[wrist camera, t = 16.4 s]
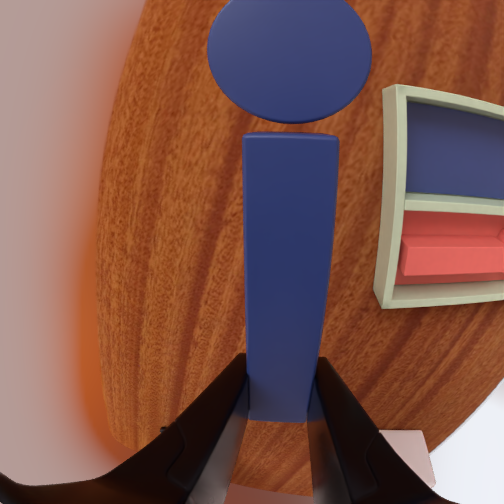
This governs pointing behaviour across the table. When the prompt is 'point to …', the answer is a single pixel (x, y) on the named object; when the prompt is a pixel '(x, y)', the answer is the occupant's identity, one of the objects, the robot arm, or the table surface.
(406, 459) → the container
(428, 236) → the spoon coral
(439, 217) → the cutlery tray
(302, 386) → the spoon navy
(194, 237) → the table surface
